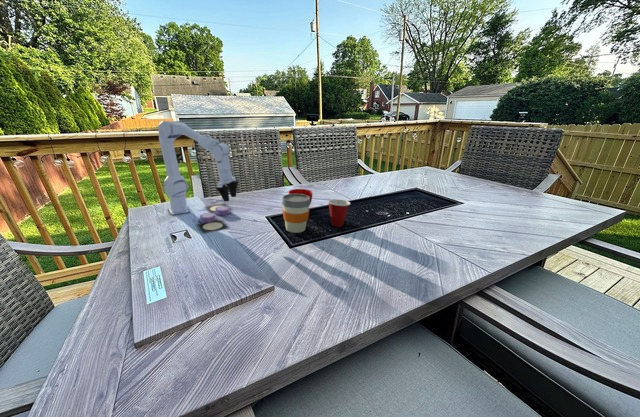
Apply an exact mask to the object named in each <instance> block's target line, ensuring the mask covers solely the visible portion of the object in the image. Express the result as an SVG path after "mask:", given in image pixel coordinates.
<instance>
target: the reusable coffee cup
mask: <svg viewBox="0 0 640 417" xmlns="http://www.w3.org/2000/svg"><path fill="white" fill-rule="evenodd" d="M281 204H282V217H283V220H284V224H285V231H287V232H289V233H294V234H297V233H298V234H300V233H302V232H305V231H306V228H307V224H308V223H307V222H308V220H309V216H310V206H311V204H310V197H309V196H307V195H304V194H289V193H287V194H284V195H283V196H282V200H281ZM309 205H310V206H309Z"/></svg>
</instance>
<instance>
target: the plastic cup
mask: <svg viewBox="0 0 640 417" xmlns="http://www.w3.org/2000/svg"><path fill="white" fill-rule="evenodd" d="M327 204H328V208H329V218H330V224H331V226H332V227H334V228H341V227H343V226H344V225H345V224H344V223H345V220H346V218H347V213H348V210H349V207H350V206H351V202H350V201H348V200H346V199H345V200H344V199H338V198H336V199H335V198H333V199H328V200H327Z"/></svg>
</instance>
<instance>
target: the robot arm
mask: <svg viewBox="0 0 640 417" xmlns="http://www.w3.org/2000/svg"><path fill="white" fill-rule="evenodd" d="M156 128H157V132H158V141H159V146H160V150H161V154H162V158H163V163H164V167H165V171H166V177H165V179H164V180H163V191H164V193H165V195H166V196H167V197H168V198H169V199H168V200H169V206H170V207H169V208H168V211H169V213H170V214H171V215H172V216H174V215H180V214H187V213H190V210H189V209H188V206H187V196H186V194H187V192H188V189H189V185H188V183H187V181H186V179H185V177H184V176H183V175H181V172H180V167H179V163H178V158H177V153H176V150H175V146H174V142H175V140H177V138H179V137H181V136H185V137H187V138H189V139H192V140H194V141H196V142H197V143H198V146H199V147H201V148H203V149H204V150H207V151H208V152H209V153H211V155H212V157H213V158H214V160H215V163H216V168H217V173H218V174H217V175H218V178H219V180H218V182H216V187H215V190H216V191H217V192H218V193H219V194H220V196H221V198H222V200H223V202H229V201H230V197H231V198H236V197H237V189H238V185H239V181H237V178H236V176H233V172H232V167H231V162H230V157H229V154H230V153H231V148H230V146H229V145H228V144H227V143H226V142H220V141H219V140H218V139H214V138H213V137H211V135H210V134H200V133H199V132H198V131H197V130H194V129H193V128H191V127H190V126H188V125H187V124H186V123H185V122H182V121H181V120H161V121H160V122H159V124H158V125H157V126H156Z"/></svg>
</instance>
